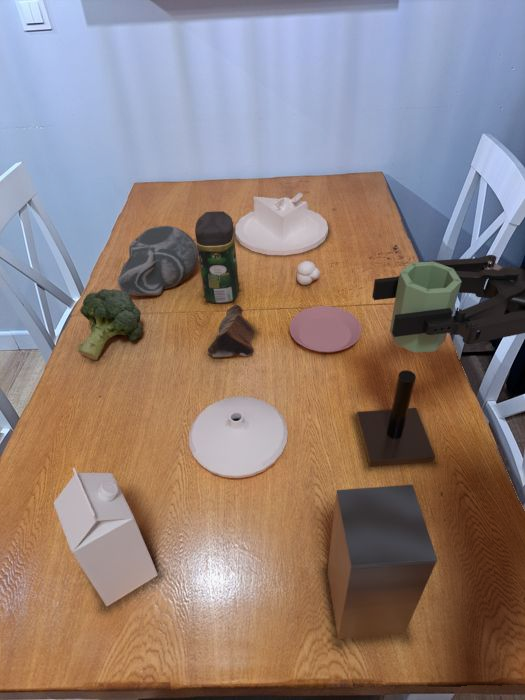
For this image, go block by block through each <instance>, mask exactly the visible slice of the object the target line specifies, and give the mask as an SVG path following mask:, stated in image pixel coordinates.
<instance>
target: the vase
mask: <svg viewBox="0 0 525 700" xmlns="http://www.w3.org/2000/svg"><path fill="white" fill-rule="evenodd" d="M288 432H289V431H288V426H287V422H286V420H285V419H284V417H283V415H282V414H281V412H280V411H279V410H277V408H276V407H274V406H273V405H271V404H270V403H268V402H266V401H264V400H262V399H259V398H255V397H252V396H240V395H239V396H231V397H226V398H222V399H219V400H217V401H215V402H214V403H213V404H210V405H209V406H207V407H206V408H204V409H203V410H202V411H201V412H200V413H199V414H198V415H197V416H196V418H195V419H194V420H193V422H192V424H191V426H190V430H189V433H188V447H189V449H190V451H191V454H192V456H193V457H194V459H195V460H196V462H198V463H199V465H200V466H201V467H202V468H203V469H205V470H207V471H208V472H209V473H211V474H214V475H216V476H219V477H222V478H228V479H243V478H250V477H253V476H255V475H258V474H261V473H263V472H265V471H266V470H267V469H269V468H270V467H272V466H273V465H274V464H275V463H276V461H278V459H280V457H281V455H282V454H283V451H284V449H285V448H286V446H287V442H288Z"/></svg>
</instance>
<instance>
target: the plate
mask: <svg viewBox="0 0 525 700" xmlns="http://www.w3.org/2000/svg"><path fill="white" fill-rule="evenodd" d="M289 333H290V336H291V337H292V339H293V340H294V341H295V342H296V343H297V344H299V345H300V346H302V347H304V348H306V349H308V350H311V351H313V352H318V353H335V352H339V351H343V350H346V349H348V348H351V347H352V346H353V345H354V344H356V343H357V342H358V340H359V339H360V337H361V335H362V325H361V323H360V321H359V319H358V318H357V317H356V316H355V315H354V314H353V313H351V312H349V311H348V310H345V309H343V308H340V307H337V306H331V305H317V306H312V307H308V308H305V309H303V310H301V311H299V312H298V313H296V314H295V315H294V316H293V318H292V319H291V321H290V322H289Z"/></svg>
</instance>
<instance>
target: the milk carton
mask: <svg viewBox="0 0 525 700" xmlns="http://www.w3.org/2000/svg"><path fill="white" fill-rule="evenodd" d="M71 469H72V471H73V474H74V475H73V476H72V477H71V478H70V480H69V481H68V483H67V484H66V485H65V486H64V488H63V489H62V491H61V492H60V493H59V495H58V496H57V497H56V499H55V500H54V501H53V506H54V509H55V512H56V514H57V517H58V519H59V522H60V525H61V528H62V530H63V533H64V537H65V539H66V541H67V544H68V547H69V549H70V551H71V553H72V555H73V557H74V558H75V560H76V561H77V563H78V564H79V566H80V567H81V569H82V570H83V572H84V574H85V575H86V577H87V579H88V580H89V581H90V583H91V585H92V587H93V588H94V589H95V591H96V592H97V594H98V595H99V597H100V598H101V600H102V602H103V603H104V605H105V606H106V607H109V606H111V605H113V604H114V603H115V602H117V601H119V600H121V599H122V598H124V597H125V596H127V595H128V594H130V593H132V592H133V591H135V590H137V589H138V588H139V587H142V586H143V585H144V584H146V583H148V582H149V581H151V580H153V579H155V578H156V577H157V576H158V574H159V573H158V572H157V569H156V566H155V564H154V561H153V560H152V557H151V554H150V552H149V550H148V547H147V545H146V543H145V540H144V538H143V535H142V533H141V531H140V528H139V526H138V523H137V521H136V518H135V517H134V514H133V512H132V510H131V508H130V505H129V504H128V502H127V500H126V498H125V496H124V493H123V492H122V490H121V487H120V485H119V484H118V481H117V480H116V478H115V476H114V475H113V474H112V473H111V472H77V471H76V468H75V467H72V468H71Z"/></svg>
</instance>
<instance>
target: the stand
mask: <svg viewBox="0 0 525 700" xmlns="http://www.w3.org/2000/svg"><path fill="white" fill-rule="evenodd" d="M335 494H336V495H335V502H334V509H333V520H332V527H331V528H332V529H331V537H330V547H329V555H328V562H327V563H328V564H327V572H326V573H327V579H328V586H329V592H330V598H331V604H332V605H331V606H332V610H333V611H332V613H333V616H334V617H333V618H334V624H335V631H336V637H337V640H351V639H365V638H378V637H391V636H402V635H403V636H404V635H406V632H407V629H408V627H409V625H410V623H411V621H412V619H413V616H414V614H415V612H416V609H417V607H418V604H419V602H420V601H421V598H422V595H423V594H424V592H425V589H426V587H427V584H428V582H429V580H430V577H431V575H432V573H433V571H434V568H435V566H436V564H437V561H438V557H437V553H436V550H435V548H434V545H433V542H432V539H431V536H430V533H429V529H428V526H427V524H426V521H425V518H424V515H423V512H422V508H421V506H420V502H419V499H418V496H417V493H416V490H415V487H414V484H403V485H402V484H401V485H400V484H399V485H387V486H373V487H361V488H360V487H359V488H348V489H347V488H346V489H337V490H336V493H335Z"/></svg>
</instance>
